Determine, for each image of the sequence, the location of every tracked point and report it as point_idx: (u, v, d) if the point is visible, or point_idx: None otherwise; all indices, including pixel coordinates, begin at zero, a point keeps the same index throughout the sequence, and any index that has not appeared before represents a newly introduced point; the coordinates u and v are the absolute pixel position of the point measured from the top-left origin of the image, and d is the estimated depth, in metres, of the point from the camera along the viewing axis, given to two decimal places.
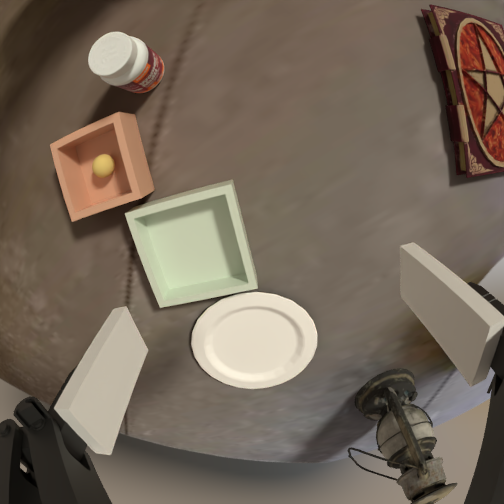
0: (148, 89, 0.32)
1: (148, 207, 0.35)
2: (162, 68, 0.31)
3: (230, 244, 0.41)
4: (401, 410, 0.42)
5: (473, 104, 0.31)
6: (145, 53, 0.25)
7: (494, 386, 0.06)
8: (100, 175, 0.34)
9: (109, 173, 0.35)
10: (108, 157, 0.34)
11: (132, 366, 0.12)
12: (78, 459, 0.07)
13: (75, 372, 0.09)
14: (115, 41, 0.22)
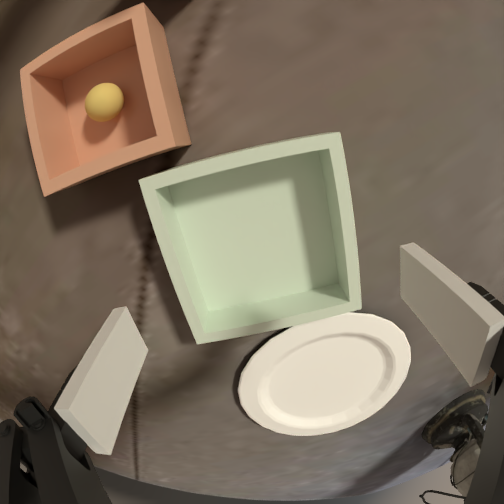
0: None
1: (184, 167, 0.19)
2: None
3: (316, 238, 0.25)
4: None
5: None
6: None
7: (494, 386, 0.06)
8: (98, 115, 0.18)
9: (114, 113, 0.19)
10: (113, 86, 0.18)
11: (132, 366, 0.12)
12: (78, 459, 0.07)
13: (75, 372, 0.09)
14: None
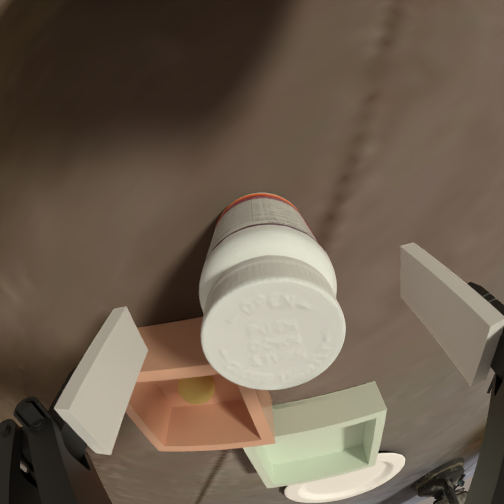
0: None
1: (275, 437, 0.24)
2: None
3: (352, 431, 0.29)
4: (457, 501, 0.30)
5: None
6: None
7: (494, 386, 0.06)
8: None
9: None
10: (207, 383, 0.22)
11: (132, 366, 0.12)
12: (78, 459, 0.07)
13: (75, 372, 0.09)
14: (295, 314, 0.09)
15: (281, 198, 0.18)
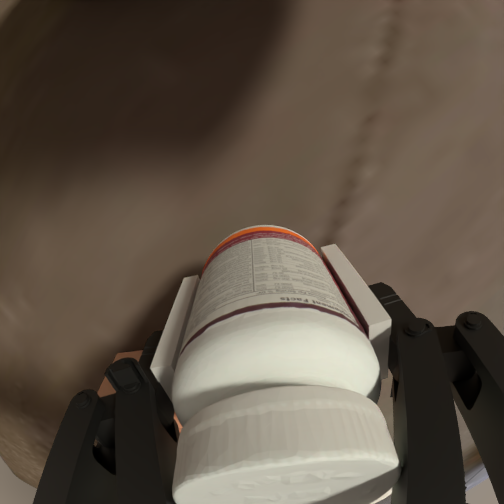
0: None
1: None
2: None
3: None
4: None
5: None
6: (378, 397, 0.07)
7: (394, 391, 0.08)
8: None
9: None
10: None
11: None
12: (169, 423, 0.08)
13: (164, 332, 0.10)
14: (329, 484, 0.04)
15: (293, 234, 0.13)
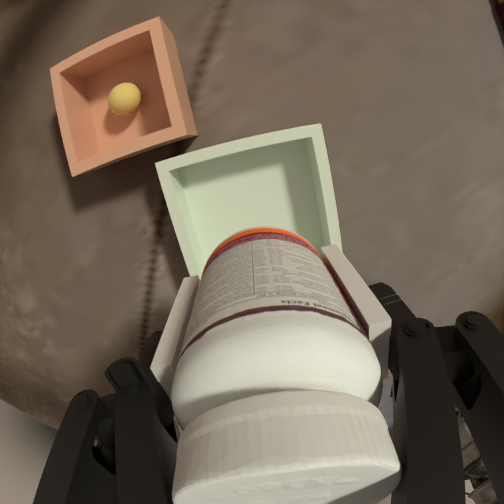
0: None
1: (193, 152, 0.23)
2: None
3: (304, 214, 0.29)
4: None
5: None
6: None
7: (393, 391, 0.08)
8: (119, 109, 0.22)
9: (133, 108, 0.23)
10: (133, 85, 0.22)
11: None
12: (169, 423, 0.09)
13: (164, 333, 0.10)
14: (330, 489, 0.04)
15: (294, 235, 0.13)
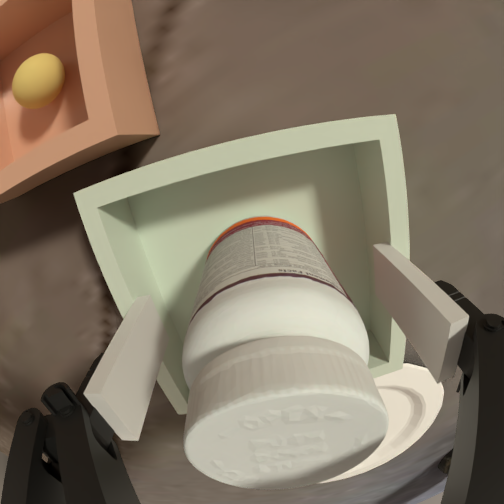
0: None
1: (140, 171, 0.11)
2: None
3: (345, 273, 0.17)
4: None
5: None
6: (367, 363, 0.09)
7: (462, 386, 0.07)
8: (25, 99, 0.10)
9: (48, 94, 0.11)
10: (49, 56, 0.10)
11: (156, 353, 0.13)
12: (106, 446, 0.08)
13: (103, 357, 0.09)
14: (323, 426, 0.05)
15: (290, 223, 0.14)
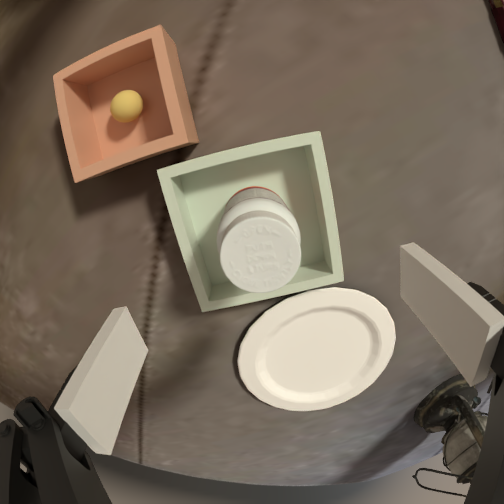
0: None
1: (194, 160, 0.24)
2: None
3: (303, 221, 0.29)
4: (476, 419, 0.29)
5: None
6: (300, 239, 0.21)
7: (494, 386, 0.06)
8: (122, 116, 0.23)
9: (135, 115, 0.23)
10: (135, 93, 0.23)
11: (132, 366, 0.12)
12: (78, 459, 0.07)
13: (75, 372, 0.09)
14: (271, 238, 0.18)
15: (269, 189, 0.27)
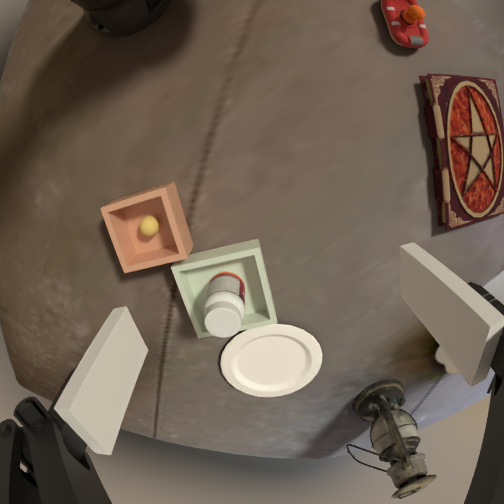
0: None
1: (191, 263, 0.46)
2: None
3: (255, 288, 0.51)
4: (390, 414, 0.52)
5: (457, 167, 0.41)
6: (244, 311, 0.43)
7: (494, 386, 0.06)
8: (148, 235, 0.45)
9: (155, 233, 0.45)
10: (154, 220, 0.44)
11: (132, 366, 0.12)
12: (78, 459, 0.07)
13: (75, 372, 0.09)
14: (226, 316, 0.40)
15: (233, 274, 0.49)
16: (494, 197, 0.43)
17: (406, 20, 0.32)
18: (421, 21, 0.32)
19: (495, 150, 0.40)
